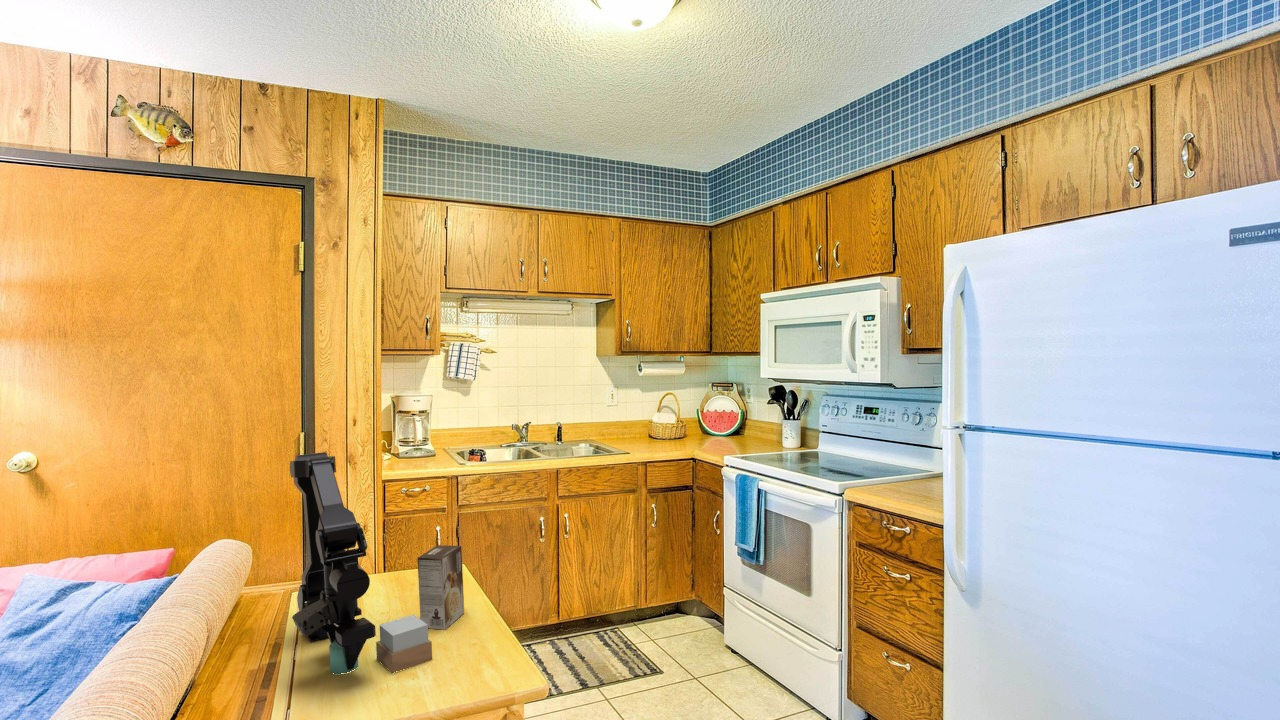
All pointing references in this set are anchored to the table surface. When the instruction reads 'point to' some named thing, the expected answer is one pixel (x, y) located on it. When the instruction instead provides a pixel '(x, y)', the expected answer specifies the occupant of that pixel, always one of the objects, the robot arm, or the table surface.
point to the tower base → (404, 656)
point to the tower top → (403, 633)
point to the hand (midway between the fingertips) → (344, 663)
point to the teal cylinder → (338, 659)
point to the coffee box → (441, 586)
